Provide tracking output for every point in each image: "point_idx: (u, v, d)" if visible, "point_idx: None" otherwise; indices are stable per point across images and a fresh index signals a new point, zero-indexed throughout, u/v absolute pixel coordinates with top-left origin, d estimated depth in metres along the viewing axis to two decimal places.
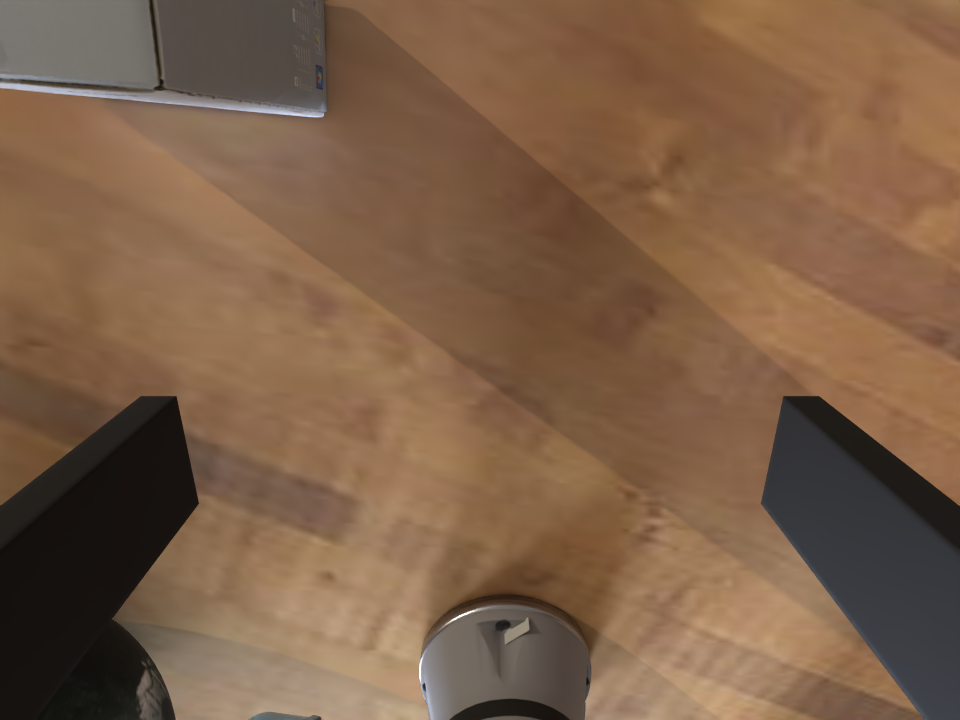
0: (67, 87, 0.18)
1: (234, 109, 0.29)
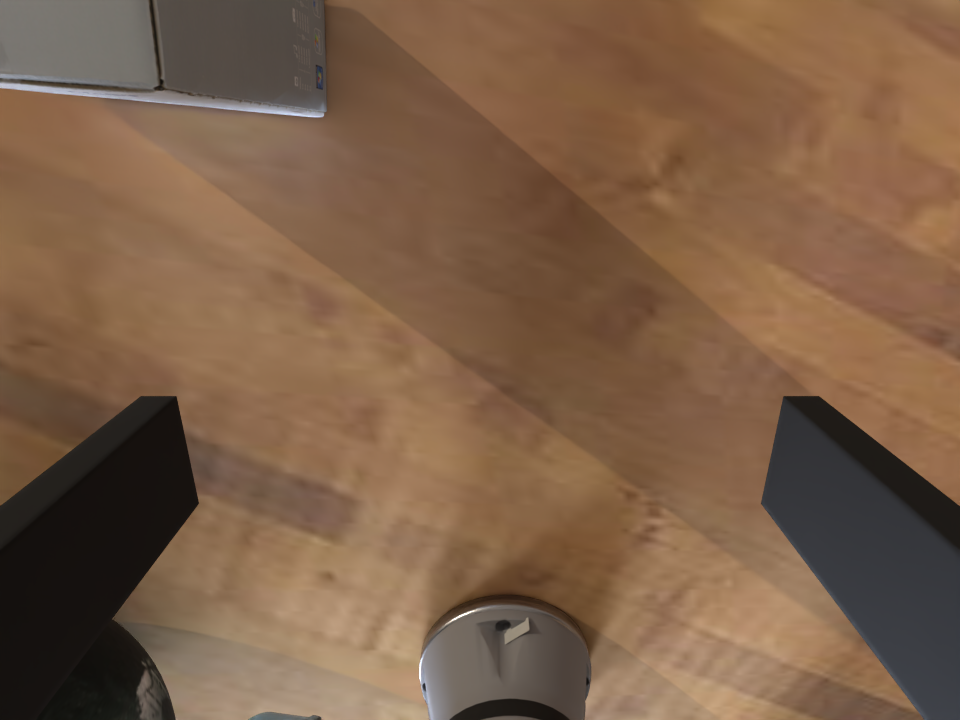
0: (67, 87, 0.18)
1: (234, 109, 0.29)
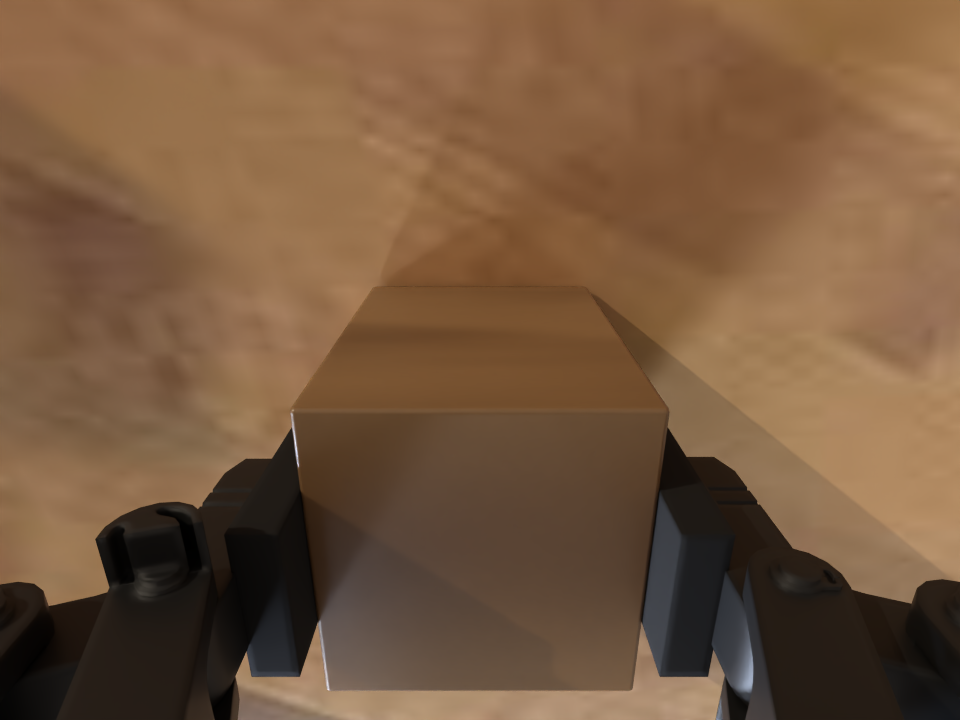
0: None
1: None
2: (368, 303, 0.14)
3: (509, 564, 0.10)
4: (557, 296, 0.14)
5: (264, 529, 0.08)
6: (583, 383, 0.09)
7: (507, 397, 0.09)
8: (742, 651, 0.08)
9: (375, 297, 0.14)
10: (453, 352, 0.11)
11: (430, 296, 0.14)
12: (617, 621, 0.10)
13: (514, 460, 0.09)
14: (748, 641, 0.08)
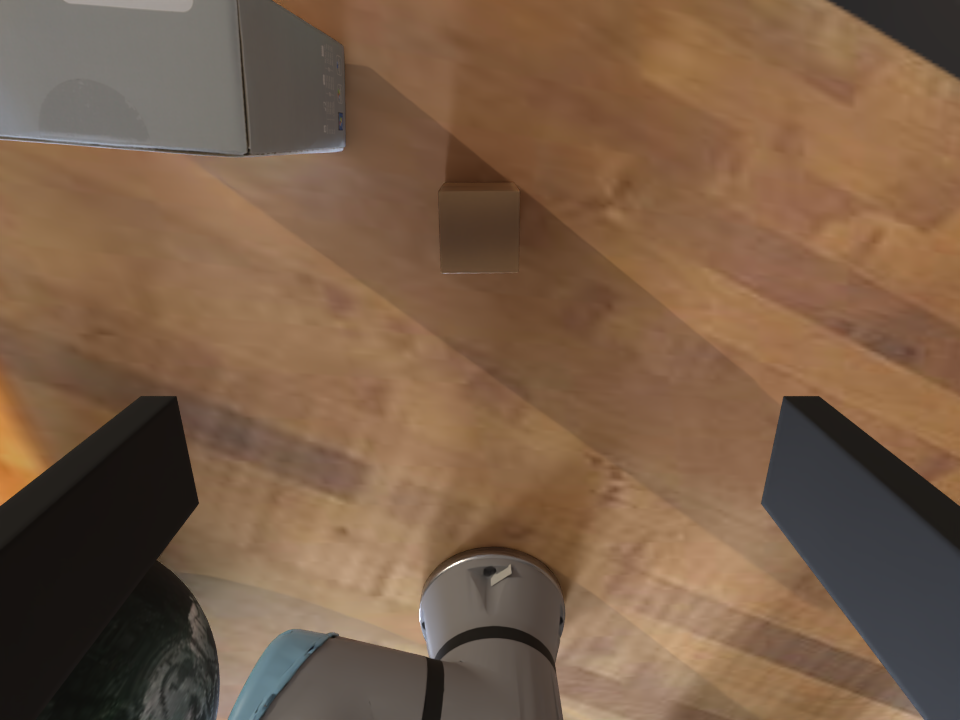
0: (185, 153, 0.27)
1: None
2: (445, 184, 0.45)
3: (486, 232, 0.41)
4: (503, 183, 0.46)
5: None
6: (502, 189, 0.41)
7: (485, 190, 0.40)
8: None
9: (446, 183, 0.46)
10: (472, 187, 0.42)
11: (463, 183, 0.46)
12: (513, 249, 0.41)
13: (486, 203, 0.40)
14: None
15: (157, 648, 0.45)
